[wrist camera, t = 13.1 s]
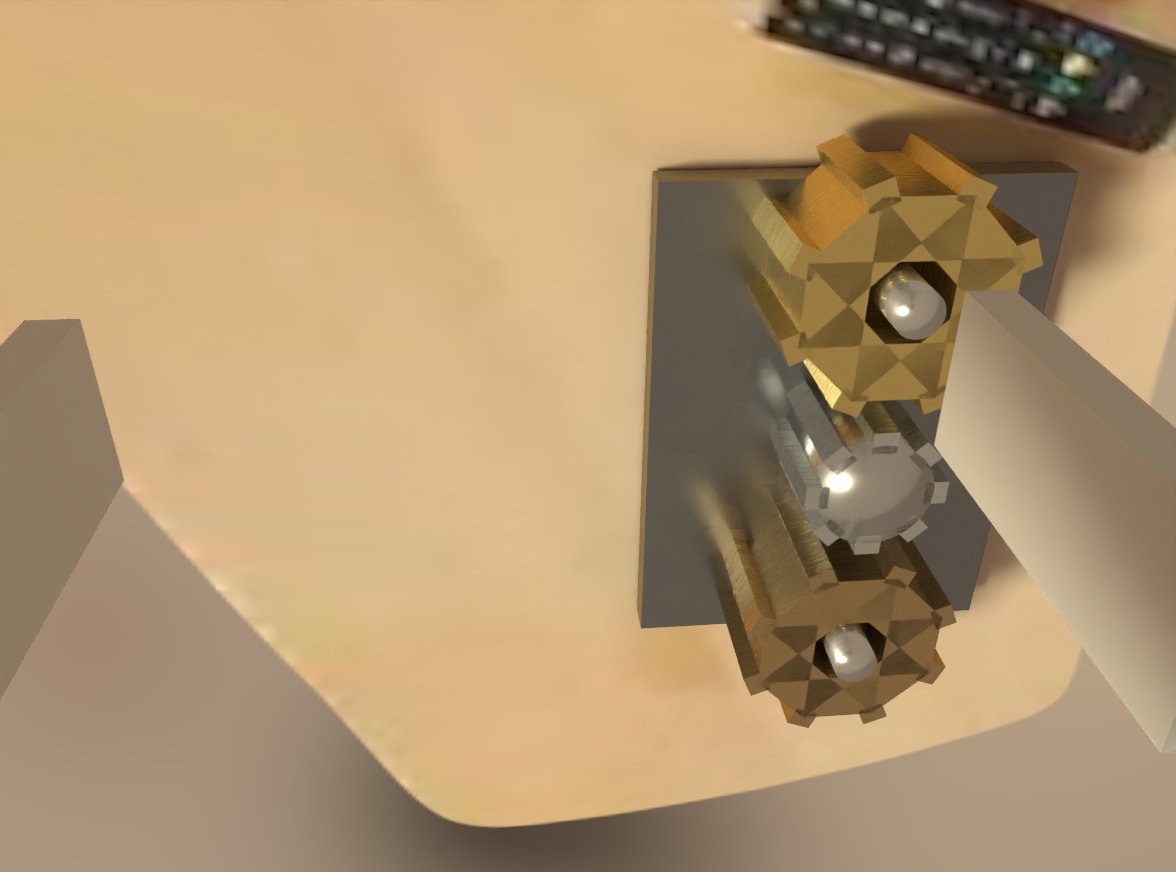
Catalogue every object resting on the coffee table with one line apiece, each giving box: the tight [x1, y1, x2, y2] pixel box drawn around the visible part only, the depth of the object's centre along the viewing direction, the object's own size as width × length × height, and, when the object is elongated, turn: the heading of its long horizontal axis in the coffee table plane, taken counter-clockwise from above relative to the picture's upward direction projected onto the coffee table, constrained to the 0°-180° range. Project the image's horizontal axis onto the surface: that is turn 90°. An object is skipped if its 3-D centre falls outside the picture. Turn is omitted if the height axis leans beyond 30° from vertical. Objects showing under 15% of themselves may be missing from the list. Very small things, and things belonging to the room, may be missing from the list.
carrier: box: [637, 162, 1078, 682], centre depth 46 cm, size 24×18×9 cm
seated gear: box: [719, 496, 956, 728], centre depth 50 cm, size 10×10×6 cm
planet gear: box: [746, 133, 1043, 417], centre depth 41 cm, size 10×10×6 cm
